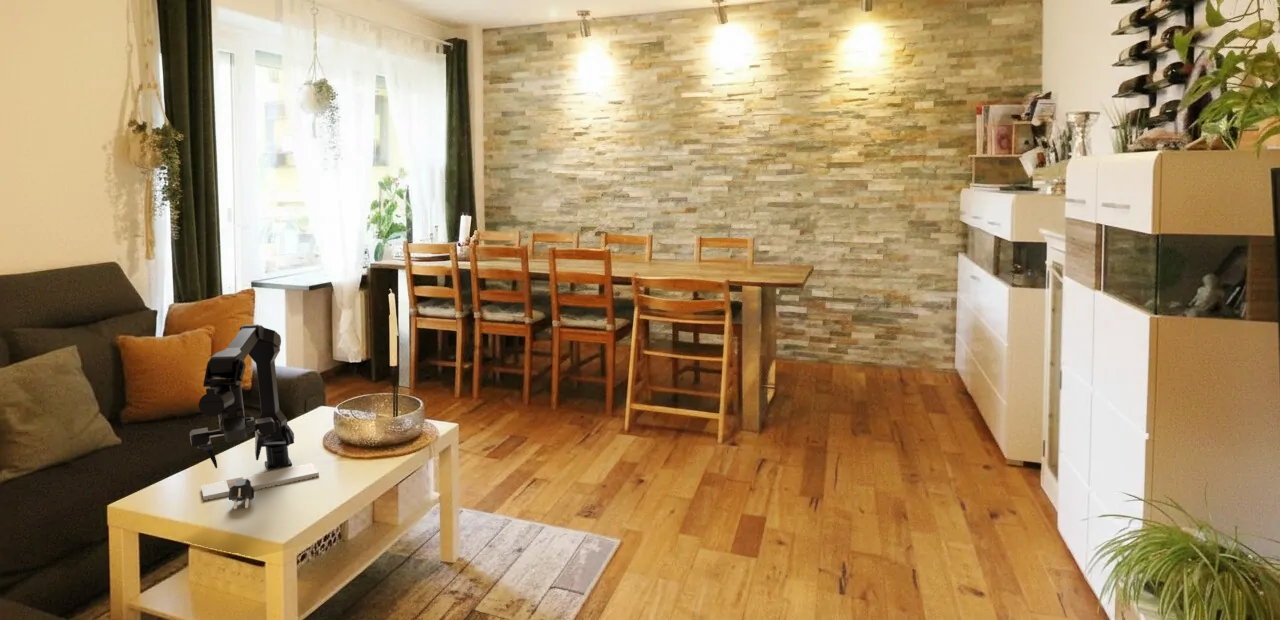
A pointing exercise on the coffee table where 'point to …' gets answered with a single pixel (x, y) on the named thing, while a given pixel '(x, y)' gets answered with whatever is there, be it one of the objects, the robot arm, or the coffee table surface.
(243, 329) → the robot arm
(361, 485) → the coffee table surface
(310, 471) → the board
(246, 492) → the power plug
